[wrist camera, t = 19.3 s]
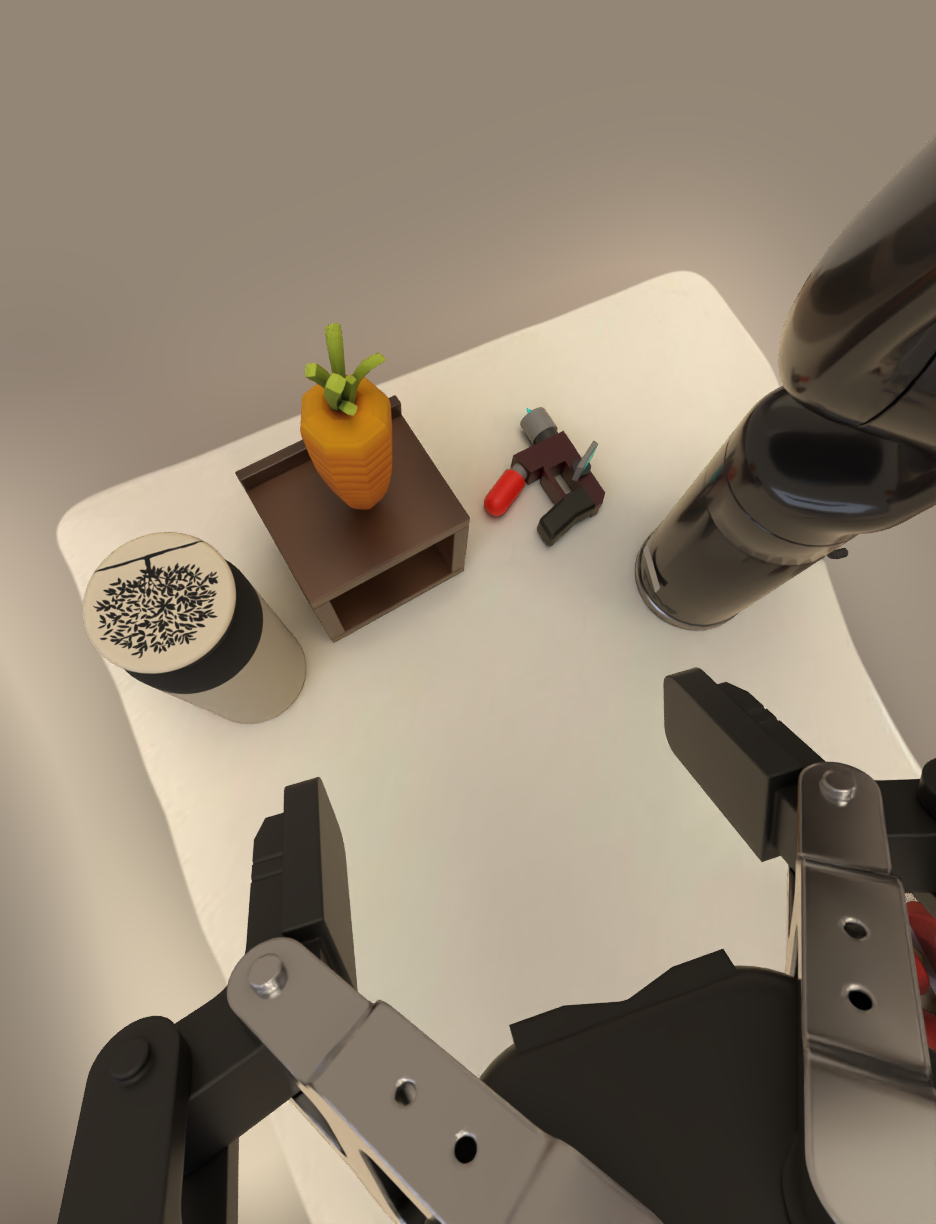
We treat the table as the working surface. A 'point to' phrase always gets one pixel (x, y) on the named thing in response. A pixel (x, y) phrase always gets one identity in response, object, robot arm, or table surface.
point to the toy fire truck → (924, 959)
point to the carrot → (348, 427)
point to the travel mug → (193, 628)
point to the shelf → (361, 531)
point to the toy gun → (549, 477)
